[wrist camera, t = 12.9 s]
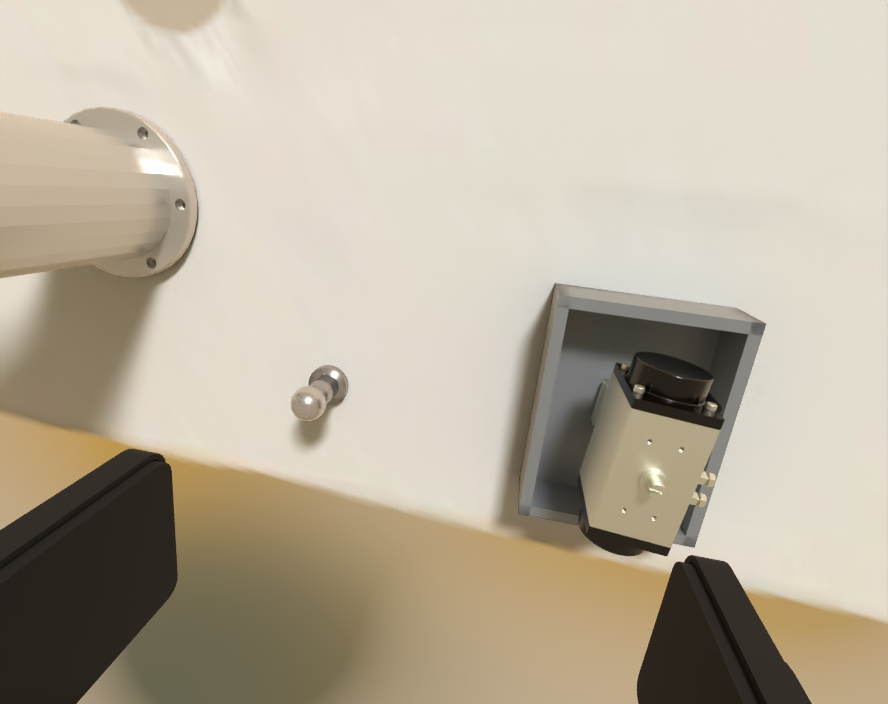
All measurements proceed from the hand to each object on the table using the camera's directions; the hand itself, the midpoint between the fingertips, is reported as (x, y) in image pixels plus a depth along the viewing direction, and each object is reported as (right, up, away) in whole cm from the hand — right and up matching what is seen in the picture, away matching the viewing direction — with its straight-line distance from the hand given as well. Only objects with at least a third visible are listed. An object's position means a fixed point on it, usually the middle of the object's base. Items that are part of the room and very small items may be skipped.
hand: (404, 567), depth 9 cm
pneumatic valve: (+14, 0, +29) cm, 32 cm away
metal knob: (-9, +1, +33) cm, 34 cm away
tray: (+14, 0, +29) cm, 32 cm away
